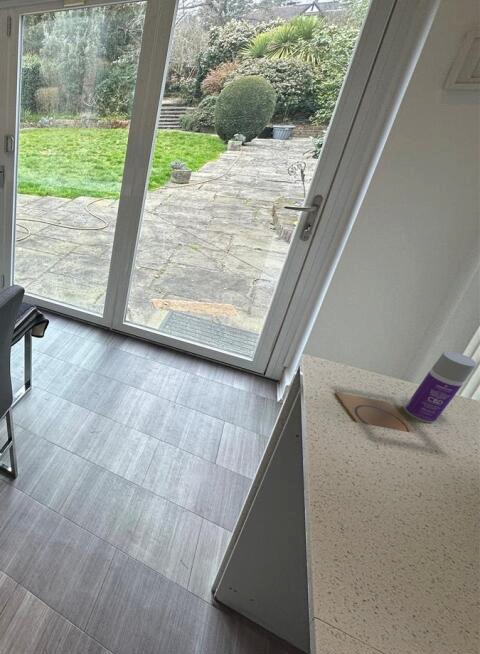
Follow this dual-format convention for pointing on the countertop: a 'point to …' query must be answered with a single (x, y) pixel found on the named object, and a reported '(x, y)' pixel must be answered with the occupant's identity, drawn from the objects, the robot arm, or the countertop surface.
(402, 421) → the coaster
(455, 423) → the countertop surface
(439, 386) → the container
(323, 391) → the countertop surface
